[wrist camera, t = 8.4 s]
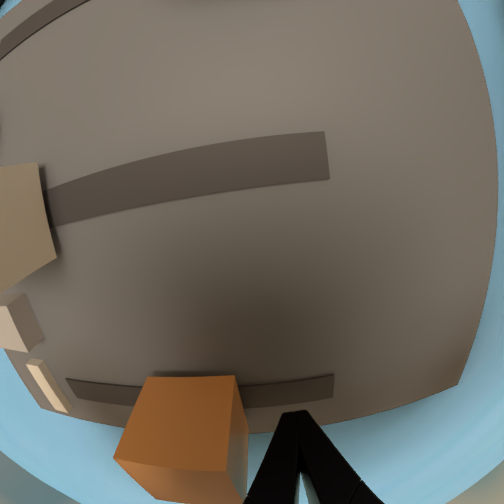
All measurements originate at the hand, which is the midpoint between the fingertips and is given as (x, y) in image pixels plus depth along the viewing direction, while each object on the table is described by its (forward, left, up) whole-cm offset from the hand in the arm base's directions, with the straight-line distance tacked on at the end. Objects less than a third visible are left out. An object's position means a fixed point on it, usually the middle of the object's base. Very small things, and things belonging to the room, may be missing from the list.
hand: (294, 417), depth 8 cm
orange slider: (+3, 0, -1) cm, 3 cm away
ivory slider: (+8, -8, -1) cm, 11 cm away
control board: (+3, -8, -3) cm, 9 cm away
